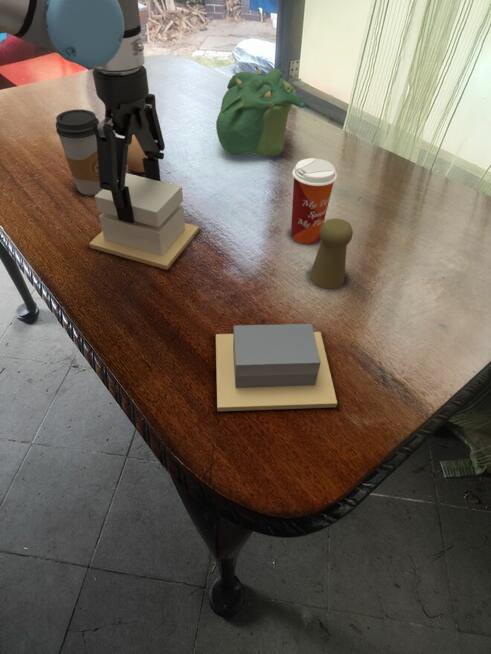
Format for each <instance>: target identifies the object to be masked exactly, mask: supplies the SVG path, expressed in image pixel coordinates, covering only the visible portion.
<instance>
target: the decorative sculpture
mask: <svg viewBox="0 0 491 654" xmlns="http://www.w3.org/2000/svg"><path fill="white" fill-rule="evenodd" d="M254 68H255V70H256V73H252V72H249V71H240V72H237V73H235V74H234V75H232V77H231V78H230V79H229V81H228V84H227V90H226V91H225V94H224V95H223V96H222V101H221V107H220V111H219V112H218V116H217V118H216V121H215V127H216V128H215V129H216V135H217V138H218V141H219V143H220V145H221V147H222V149H223V150H224V151H225V153H227V154H229V155H234V156H235V155H244V154H253V155H259V156H264V157H277V156H279V155H281V154H282V152H283V150H284V144H285V136H286V130H287V123H288V118H289V117H288V116H289V113H290V110H291V108H292V106H296V107H301V105H302V101H301V99H300V98H301V97H300V96H299V95H298V94H297V92H296V89H293V86H292V84H291V83H289V82H287V80H286V79H284V77H283V76H284V74H283V72H282V71H281V70H280V69H278V68H274V69H272V70H270V71H268V72H267V73H266V74H265V75H263V73H262V71H261V70H260V68H259V67H258V66H254Z"/></svg>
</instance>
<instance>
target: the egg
mask: <svg viewBox="0 0 491 654" xmlns="http://www.w3.org/2000/svg"><path fill="white" fill-rule="evenodd" d="M144 157H145V158H148V157H147V156H145V154H144V152H143V150H142V148H141V147H140V145H139V143H138V141H137V139H136V137H135V135H132V143H131V144H130V145H129V146H128V155H127V166H126V167H127V168H129V169H130V170H131V171H133V172H135V173H139V174H140V173H144V167H143V160H142V159H143V158H144Z"/></svg>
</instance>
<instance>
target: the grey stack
mask: <svg viewBox="0 0 491 654" xmlns="http://www.w3.org/2000/svg"><path fill="white" fill-rule="evenodd" d="M232 326H233V328H232V329H233V333H216V334H215V366H216V411H217V412H238V411H239V412H241V411H268V410H269V411H271V410H296V409H324V408H327V409H328V408H337V405H338V400H337V396H336V392H335V388H334V387H335V386H334V382H333V379H332V375H331V369H330V366H329V361H328V357H327V353H326V349H325V344H324V341H323V335H322V332H321V331H314V327H313V324H312V323H292V324H291V323H288V324H287V323H285V324H284V323H283V324H281V323H280V324H243V325H242V324H240V325H239V324H237V325H232Z"/></svg>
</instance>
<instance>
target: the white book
mask: <svg viewBox="0 0 491 654" xmlns="http://www.w3.org/2000/svg"><path fill="white" fill-rule="evenodd" d="M117 181H118V180H117ZM125 186H127V187H129V193H130V199H131V204H132V210H133V216H134V221H136V222H140V223H144V224H147V225H151V226H155V227H160V226H161V224H162V223H163V222H164V221H165V220H166V219H167V218H168V217H169V216H170V215H171V214H172V213H173V211H174V210H175V209H176V208H177V207H178V206H181V204H182V203H183V202H184V197H183V187H182V186H181V185H179V184H173V183H169V182H165V181H157V180H153V179H149V178H145V176H139V175H135V174H132V173H127V172H126V177H125ZM94 200H95V205H96V209H97V212H99V213H101V214H103V213H106V214H110V215H114V216H117V217H118V215H117V211H116V206H115V205H114V202H113V198H112V193H111V191H108V190H104V189H103V190H101V191H100V192H99V193H98V194H97V195H94Z"/></svg>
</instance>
